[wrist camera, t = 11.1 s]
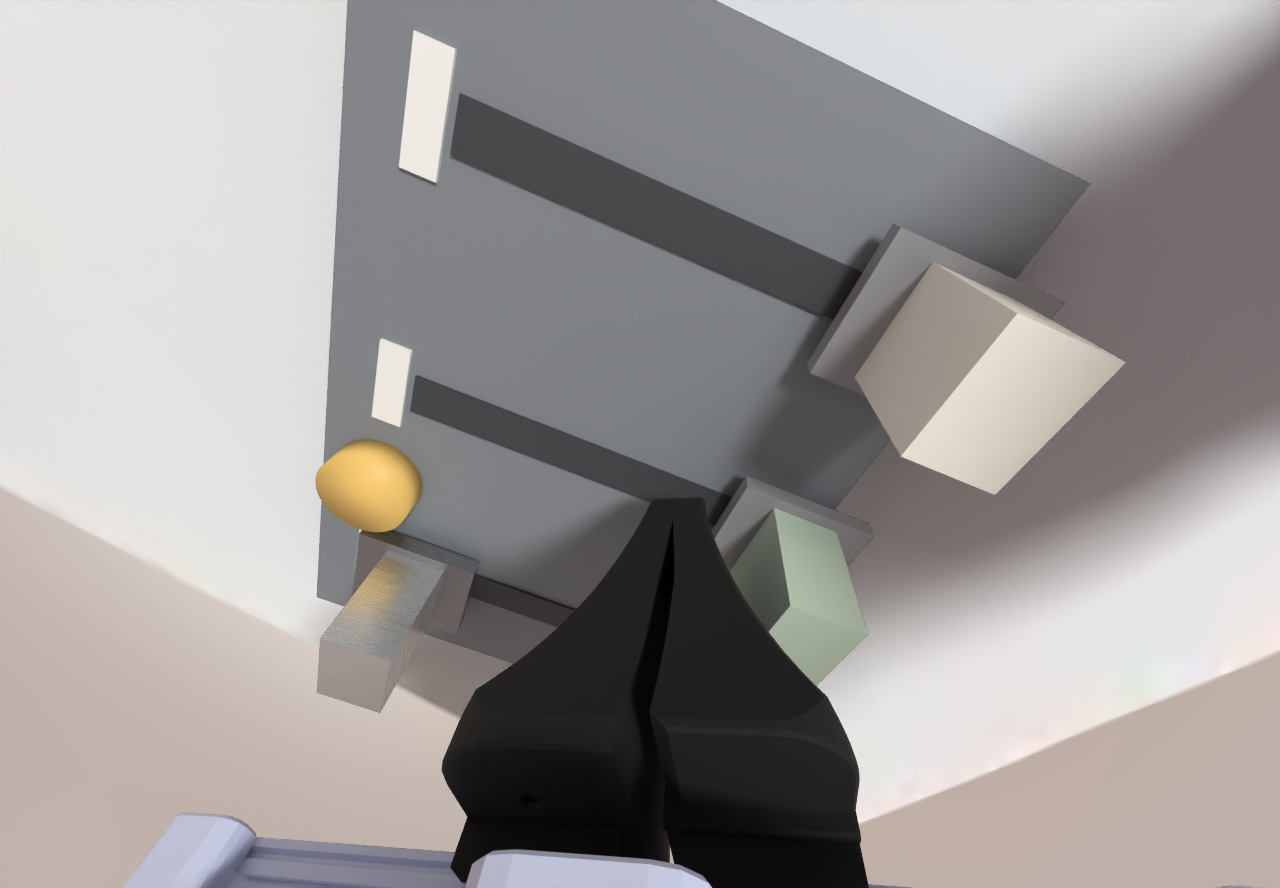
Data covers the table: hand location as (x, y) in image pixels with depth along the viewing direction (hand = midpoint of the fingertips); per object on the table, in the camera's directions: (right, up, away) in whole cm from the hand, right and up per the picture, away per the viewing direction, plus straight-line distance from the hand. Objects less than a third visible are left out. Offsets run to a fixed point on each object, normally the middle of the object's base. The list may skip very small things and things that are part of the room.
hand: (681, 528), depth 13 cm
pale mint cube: (+3, -1, +1) cm, 3 cm away
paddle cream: (+5, +5, -2) cm, 7 cm away
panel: (-3, +2, +2) cm, 4 cm away
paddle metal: (-8, -2, +4) cm, 9 cm away
